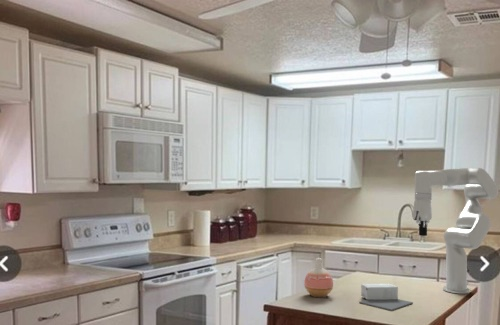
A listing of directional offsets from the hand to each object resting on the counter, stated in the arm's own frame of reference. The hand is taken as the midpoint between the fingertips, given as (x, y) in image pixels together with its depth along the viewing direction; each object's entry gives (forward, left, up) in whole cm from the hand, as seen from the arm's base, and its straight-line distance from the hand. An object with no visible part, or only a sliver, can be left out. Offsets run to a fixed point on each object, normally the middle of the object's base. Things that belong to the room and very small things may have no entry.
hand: (423, 235), depth 223 cm
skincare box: (+13, -7, -26) cm, 30 cm away
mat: (+24, -5, -29) cm, 38 cm away
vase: (+37, -33, -29) cm, 58 cm away
